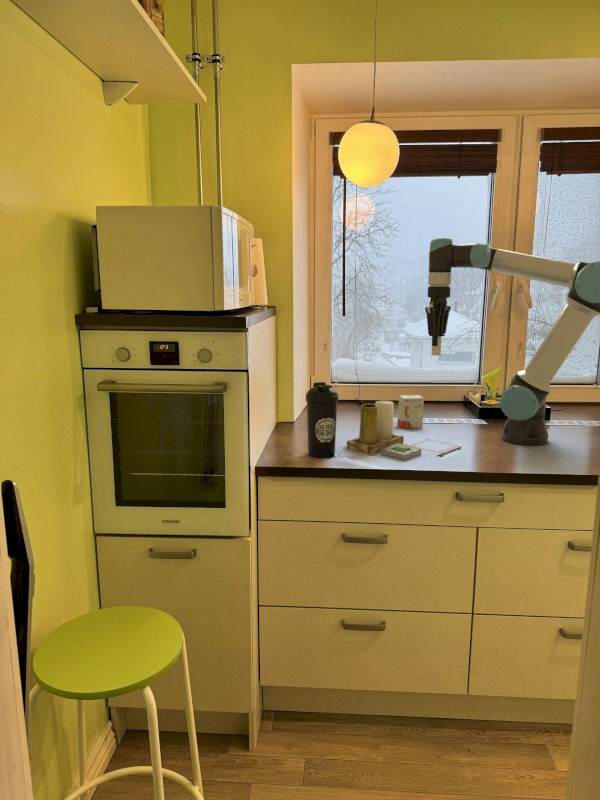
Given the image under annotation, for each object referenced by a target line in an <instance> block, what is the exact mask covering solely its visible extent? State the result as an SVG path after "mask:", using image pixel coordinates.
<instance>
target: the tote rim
mask: <svg viewBox="0 0 600 800" xmlns="http://www.w3.org/2000/svg"><path fill="white" fill-rule="evenodd" d="M428 441H432V442H436V443H440V444H444V445H449V446H452V447H448V448H445V449H444V450H441V451H437V450H432V449H428V448H424V447H419V446H416V445H419V444H422V443H425V442H428ZM406 446H411V447H415V448H419V449H421V450H424V451H428V452H433V453H437V454H438V455H436V457H439V458H444V456H445V455H449V454H451V453H454V452H456V451H461V450H462V446H461V445H457V444H453V443H448V442H444V441H439V440H434V439H430V438H426V439H424V440H421V441H419V442H415V443H413V444H408V445H406Z"/></svg>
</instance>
